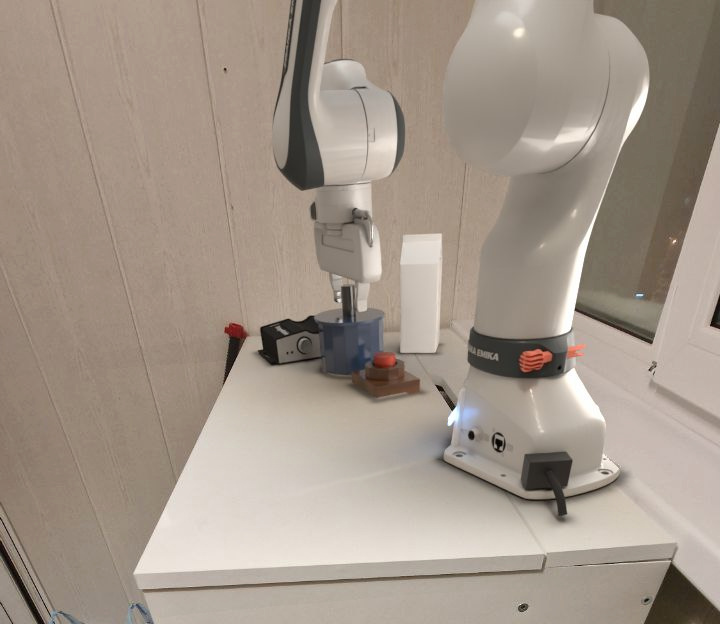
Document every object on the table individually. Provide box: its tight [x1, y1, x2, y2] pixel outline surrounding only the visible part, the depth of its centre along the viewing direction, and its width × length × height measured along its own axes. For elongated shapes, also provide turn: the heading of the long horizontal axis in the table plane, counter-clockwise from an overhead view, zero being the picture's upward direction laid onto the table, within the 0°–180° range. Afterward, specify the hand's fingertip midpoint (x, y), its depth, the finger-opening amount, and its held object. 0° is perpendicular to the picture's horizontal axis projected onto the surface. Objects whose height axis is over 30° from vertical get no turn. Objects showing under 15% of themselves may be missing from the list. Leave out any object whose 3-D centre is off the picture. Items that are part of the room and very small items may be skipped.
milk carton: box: [399, 233, 444, 354], centre depth 107 cm, size 7×7×19 cm
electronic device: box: [257, 314, 321, 366], centre depth 113 cm, size 13×5×20 cm
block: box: [351, 358, 421, 398], centre depth 93 cm, size 10×8×4 cm
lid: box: [314, 283, 386, 326], centre depth 98 cm, size 13×13×6 cm
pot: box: [318, 318, 385, 376], centre depth 102 cm, size 12×12×8 cm
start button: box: [374, 351, 397, 367], centre depth 92 cm, size 4×4×2 cm
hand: (350, 306), depth 98 cm, fingers open, 8 cm apart
